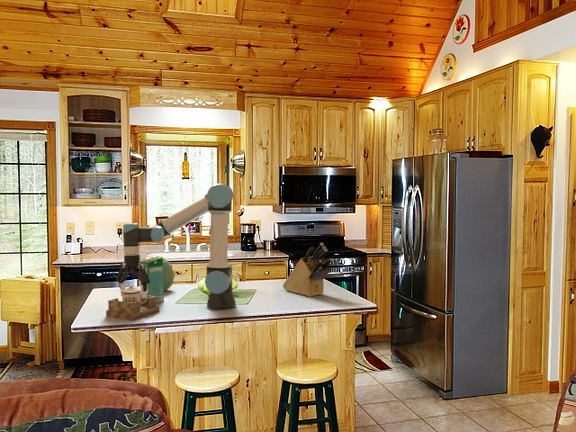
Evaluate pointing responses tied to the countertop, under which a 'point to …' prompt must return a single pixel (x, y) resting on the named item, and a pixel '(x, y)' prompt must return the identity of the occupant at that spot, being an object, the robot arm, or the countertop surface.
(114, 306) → the walnut cup stand
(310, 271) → the knife block
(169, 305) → the countertop surface
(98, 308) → the countertop surface
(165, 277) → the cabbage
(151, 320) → the countertop surface
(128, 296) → the teacup with lid
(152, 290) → the milk carton
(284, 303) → the countertop surface
